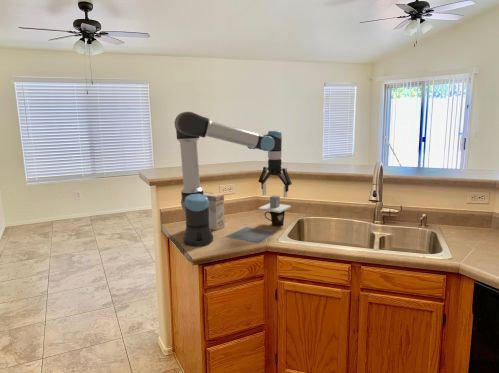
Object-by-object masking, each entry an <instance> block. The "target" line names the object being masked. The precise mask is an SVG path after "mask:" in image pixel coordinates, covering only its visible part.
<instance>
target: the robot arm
mask: <svg viewBox="0 0 499 373" xmlns="http://www.w3.org/2000/svg"><path fill="white" fill-rule="evenodd" d="M174 128H175V132H176V133H175V134H176V140H177V141H178V142H179V146H180V147H179V148H180V156H181V157H180V158H181V170H182V171H181V172H182V180H183V187H182V189H181V190H180V193H181V194H180V195H181V201H180V204H181V208H182V210H183V211H184V213H185V230H184V233H183V234H184V235H183V236H182V237H183V238H182V240H183V241H182V242H183V244H184V245H186V246H190V247H202V246H207V245H210V244H212V243H213V242H214V234H213V233H212V229H210V226H209V201H208V198H207V196H205V195H203V192H204V188H202V187H201V182H200V180H201V179H200V169H199V168H200V167H199V152H198V140H199V139H200V138H203V139H204V138H206V137H209V138H213V139H216V140H220V141H225V142H229V143H233V144H237V145H241V146H244V147H247V148H248V149H249V150H256V149H257V150H259V151H264V152H267V158H268V160H267V166H263V167H262V171H261V174H260V176H259V178H258V181H257V182H259V183H260V186H261V190H262V196H266V195H267V183H266V182H267V181H268V179H269V178H270V177H271V176H276V177H277V176H278V178H279V179H280V181H281V182H282V183H283V198H287V197H288V192H289V187H290V186H291V185H292V184H293V183H292V181H291V179H290V175H289V173H288V170H287V167H283V168H282V147H283V146H282V142H283V141H282V140H283V137H282V132H281V131H280V130H269V131H268V132H267V134H260V133H257V132H253V131H249V130H246V129H243V128H237V127H234V126H232V125H231V126H230V125H227V124H223V123H219V122H215V121H212V120H210V118H209V117H205V116H203V115H201V114H198V113H195V112H192V111H183V112H181V113H179V114H177V116H176V118H175V119H174Z"/></svg>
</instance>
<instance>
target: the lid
mask: <svg viewBox="0 0 499 373" xmlns="http://www.w3.org/2000/svg"><path fill="white" fill-rule="evenodd" d="M291 208H292V205H290V204H289V205H288V204H283V203H281V202H280V196H279V195H271V196H269V203H267V204H264V205H262V206H260V207H257V210H258V211H266V212H270V211H271V212H278V213H281V212H283V211H285V212H286V211H287V210H289V209H291Z"/></svg>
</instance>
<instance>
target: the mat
mask: <svg viewBox="0 0 499 373" xmlns="http://www.w3.org/2000/svg"><path fill="white" fill-rule="evenodd" d="M277 233H278V232H277V231H272V230H267V229H261V228H257V227H256V228H255V227H250V226H249V227H248V226H245V227H242V228H241V229H239V230H237V231H234V232H232V233H230V234H228V235H225V238H230V239H235V240H241V241H245V242H249V243H256V244H259V243H261V242H262V241H265V240H267V238H270V237H271V236H273V235H275V234H277Z"/></svg>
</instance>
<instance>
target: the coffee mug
mask: <svg viewBox="0 0 499 373" xmlns="http://www.w3.org/2000/svg"><path fill="white" fill-rule="evenodd" d="M268 213H269V214H270V218H271V219H270V218H268V217H267V214H268ZM285 213H286V210H285V211H283V212H281V213H278V212H271V211H266V212H265V213H264V217H265V218H266V219H267V220H268V221H270V222H271V226H274V227H283V226H284V221H285Z"/></svg>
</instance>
